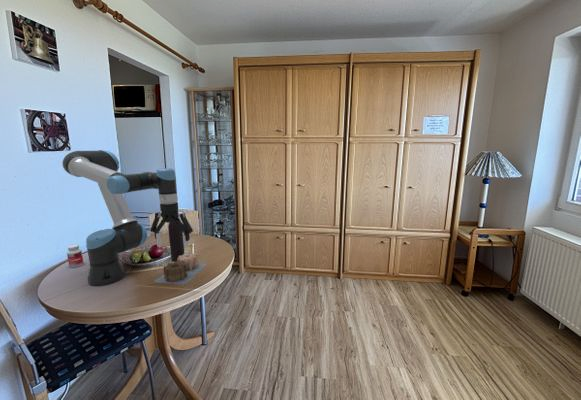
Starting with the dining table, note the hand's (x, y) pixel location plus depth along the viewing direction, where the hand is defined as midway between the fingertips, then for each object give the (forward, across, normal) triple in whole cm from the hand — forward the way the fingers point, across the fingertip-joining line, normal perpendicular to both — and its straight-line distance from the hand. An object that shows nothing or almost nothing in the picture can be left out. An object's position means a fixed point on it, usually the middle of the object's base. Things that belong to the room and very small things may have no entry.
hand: (173, 246), depth 125 cm
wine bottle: (+17, -11, +20) cm, 28 cm away
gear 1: (+16, 0, 0) cm, 16 cm away
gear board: (+16, 0, +5) cm, 17 cm away
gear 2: (+16, 0, +11) cm, 19 cm away
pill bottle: (+17, -63, +7) cm, 65 cm away
